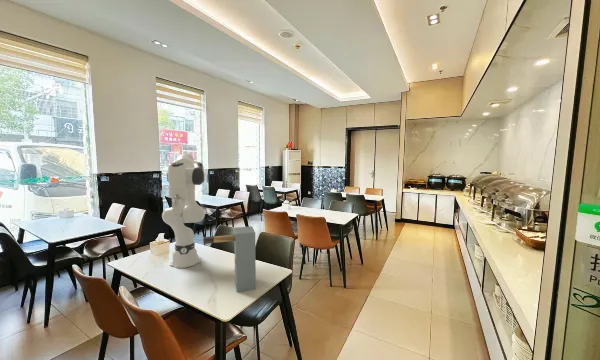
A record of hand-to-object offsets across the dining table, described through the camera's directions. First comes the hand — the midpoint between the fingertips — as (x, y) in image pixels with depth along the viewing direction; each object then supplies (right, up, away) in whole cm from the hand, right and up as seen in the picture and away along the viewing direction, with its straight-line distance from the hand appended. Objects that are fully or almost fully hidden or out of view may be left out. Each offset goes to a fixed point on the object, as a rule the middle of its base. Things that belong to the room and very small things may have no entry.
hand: (179, 219), depth 130 cm
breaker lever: (+21, -12, 0) cm, 24 cm away
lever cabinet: (+33, -38, +6) cm, 51 cm away
